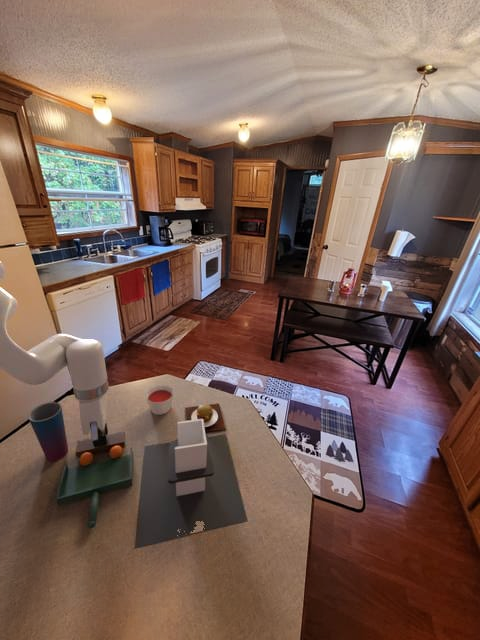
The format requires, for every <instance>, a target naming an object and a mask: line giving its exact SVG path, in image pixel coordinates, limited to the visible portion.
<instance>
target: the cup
mask: <svg viewBox="0 0 480 640" xmlns="http://www.w3.org/2000/svg"><path fill="white" fill-rule="evenodd" d="M63 413H64V412H63V407H62V405H61V403H60V402H56V401H49V402H44V403H41V404H40V405H37V406H36V407H34V408H33V409H32V410H30V411H29V413H28V414H27V415H28V416H27V418H28V421H29V423H30V425H31V428H32V430H33V432H34V434H35V437H36V438H37V441H38V443H39V445H40V448H41V450H42V452H43V454H44V457H45V459H46V460H47V461H49V462H56V461H59V460H61V459H62V458H64V457H65V456H66V455H67V453H68V451H69V446H68V439H67V433H66V432H67V431H66V426H65V420H64V415H63Z"/></svg>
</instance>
